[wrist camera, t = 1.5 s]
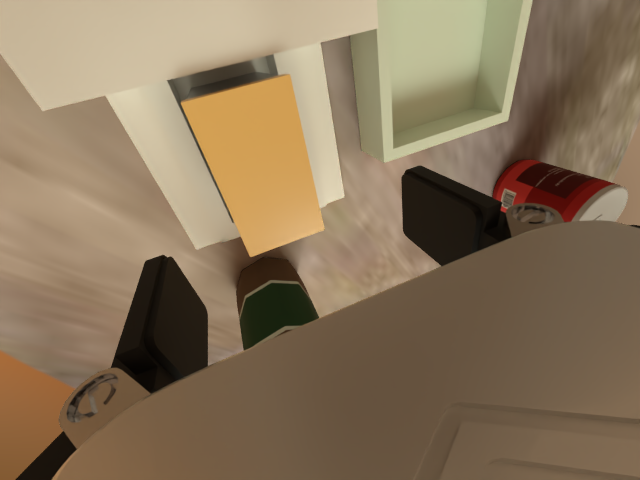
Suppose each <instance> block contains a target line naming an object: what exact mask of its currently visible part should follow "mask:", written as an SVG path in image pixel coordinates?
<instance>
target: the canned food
mask: <svg viewBox="0 0 640 480" xmlns="http://www.w3.org/2000/svg"><path fill="white" fill-rule="evenodd" d="M493 198H494V199H496V200H498V201H501V202H502V207H501V211H503V212H505V213H506V210H507V209H508V208H509V207H510V206H512V205H516V204H520V203H535V204H541V205H545V206H548V207H551V208H553V209H555V210H556V211H558V213H559V214H560V215H561V217H562V219H563V220H564V222H575V221H588V220H605V221H613V222H615V221H616V220H617V219H618V217H619V216H620V214H621V213H622V211H623V209H624V207H625V205H626V203H627V198H628V190H627V189H626V188H625V187H622V186H620V185H617V184H614V183H611V182H608V181H605V180H601V179H598V178H594V177H591V176H588V175H584V174H581V173H577V172H574V171H570V170H567V169H563V168H560V167H556V166H553V165H549V164H546V163H543V162H539V161H536V160H520V161H518V162H516V163H514V164H512V165H511V166H510V167H508V168H507V169H506V170H505V171H504V173H503V174H502V175H501V176H500V178H499V179H498V181H497V183H496V185H495V188H494V192H493Z"/></svg>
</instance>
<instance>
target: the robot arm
mask: <svg viewBox="0 0 640 480" xmlns="http://www.w3.org/2000/svg"><path fill="white" fill-rule="evenodd" d="M501 207H502V202H501V201H498V200H496V199H494V198H492V197H489V196H487V195H485V194H483V193H481V192H478V191H476V190H474V189H472V188H469V187H467V186H465V185H463V184H460V183H458V182H456V181H454V180H452V179H449V178H447V177H445V176H443V175H440V174H438V173H436V172H434V171H431V170H429V169H427V168H425V167H423V166H417V167H414V168H411V169H408V170H406V171H405V173H404V175H403V176H402V212H403V231H404V234H405V235H406V236H407V237H408V238H409V239H410V240H411V241H412V242H414V243H415V244H416V245H417V246H418V247H420V248H421V249H422V250H423V251H424V252H426V253H427V254H428V255H429V256H430V257H431V258H433V259H434V260H435V261H436V262H437V263H439V264H440V265H441V267H439V268H436V269H434V270H432V271H429V272H427V273H425V274H422V275H420V276H417V277H415V278H413V279H410V280H408V281H406V282H403V283H401V284H398V285H396V286H394V287H391V288H389V289H387V290H384V291H382V292H380V293H377V294H375V295H372V296H370V297H368V298H365V299H363V300H361V301H358V302H356V303H354V304H351V305H349V306H347V307H344V308H342V309H340V310H337V311H335V312H332V313H330V314H328V315H325V316H323V317H321V318H318V319H316V320H314V321H311V322H309V323H307V324H305V325H302V326H300V327H298V328H295V329H293V330H291V331H288V332H286V333H284V334H281V335H279V336H277V337H274V338H272V339H270V340H267V341H265V342H263V343H260V344H258V345H256V346H253V347H251V348H249V349H246V350H244V351H242V352H240V353H237V354H235V355H233V356H230V357H228V358H226V359H223V360H221V361H219V362H216V363H214V364H212V365H210V366H208V314H207V310H206V307H205V305H204V304H203V302H202V301H201V299H200V298H199V296H198V295H197V293H196V292H195V290H194V289H193V287H192V286H191V284H190V283H189V281H188V280H187V278H186V277H185V275H184V274H183V272H182V271H181V269H180V268H179V266H178V265H177V263H176V262H175V260H174V259H173V258H172V257H168V258H167V257H166V256H165V255H161V256H158V257H156V258H153V259H150V260H147V261H146V262H145V264H144V267H143V270H142V273H141V276H140V279H139V282H138V285H137V289H136V292H135V295H134V298H133V301H132V304H131V307H130V310H129V313H128V316H127V319H126V322H125V325H124V329H123V332H122V335H121V338H120V341H119V344H118V347H117V350H116V353H115V357H114V360H113V363H112V366H111V368H108V369H105V370H102V371H100V372H98V373H96V374H94V375H92V376H91V377H89V378H88V379H87V380H85V381H84V382H83V383H82V384H80V385H79V386H78V387H77V388H76V389H75V390H74V392H73V393H72V394H71V395H70V396H69V398H68V399H67V400H66V402H65V404H64V406H63V408H62V410H61V412H60V416H59V423H60V427H61V428H62V429H63V432H62V433H61V434H60V435H59V436H58V437H57V438H56V439H55V440H54V441H53V442H52V443H51V444H50V445H49V446H48V447H47V448H46V449H45V450H44V451H43V452H42V453H41V454H40V455H39V456H38V457H37V458H36V459H35V460H34V461H33V462H32V463H31V464H30V465H29V466H28V467H27V469H25V470H24V472H23V473H22V474H20V476H19V477H18V478H17V479H16V480H640V226H637V225H626V224H622V223H618V222H613V221H605V220H588V221H575V222H564V220H563V219H562V217H561V215H560V214H559V213H558V211H556V210H555V209H553V208H551V207H548V206H545V205H541V204H535V203H520V204H516V205H512V206H510V207H509V208H508V209H507V210H506V213H505V212H503V211H501Z"/></svg>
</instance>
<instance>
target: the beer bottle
mask: <svg viewBox="0 0 640 480" xmlns="http://www.w3.org/2000/svg"><path fill="white" fill-rule="evenodd" d="M236 295H237V306H238V313H239V320H240V327H241V334H242V341H243V348H244V350H246V349H249V348H251V347H253V346H256V345H258V344H260V343H263V342H265V341H267V340H270V339H272V338H274V337H277V336H279V335H281V334H284V333H286V332H288V331H291V330H293V329H295V328H298V327H300V326H302V325H305V324H307V323H309V322H311V321H314V320H316V319H318V318H319V316H318V314H317V312H316V310H315V308H314V305H313V303H312V301H311V299H310V297H309V295H308V292H307V290H306V288H305V286H304V284H303V282H302V280H301V278H300V277H299V275H298V274H297V272H296V271H295V269H294V268H293V267H292V265H291V264H290V263H289V261H288V260H285V259H274V258H262V259H260V260H258V261H257V262H255V263H253V264H252V265H250V266H248V267H247V268H245V269H244V270H242V272H241V275H240V279H239V283H238V287H237V291H236Z"/></svg>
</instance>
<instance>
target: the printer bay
mask: <svg viewBox="0 0 640 480" xmlns="http://www.w3.org/2000/svg"><path fill="white" fill-rule="evenodd" d="M377 28H378V11H377V0H0V54H1V55H2V57H3V58H4V59H5V61H6V62H7V63H8V65H9V66H10V67H11V69H12V70H13V72H14V73H15V74H16V76H17V77H18V78H19V80H20V81H21V82H22V84H23V85H24V86H25V88H26V89H27V91H28V92H29V93H30V95H31V96H32V97H33V99H34V100H35V101H36V103H37V104H38V105H39V107H40V108H41V109H42V111H45V110H49V109H53V108H57V107H61V106H65V105H69V104H73V103H77V102H81V101H85V100H89V99H93V98H97V97H102V96H106V98H107V99H108V101H109V103H110V105H111V106H112V108H113V110H114V111H115V113H116V115H117V116H118V118H119V120H120V121H121V123H122V125H123V126H124V128H125V130H126V132H127V133H128V135H129V137H130V138H131V140H132V142H133V143H134V145H135V147H136V148H137V150H138V152H139V153H140V155H141V157H142V159H143V160H144V162H145V164H146V165H147V167H148V169H149V170H150V172H151V174H152V175H153V177H154V179H155V180H156V182H157V184H158V185H159V187H160V189H161V191H162V192H163V194H164V196H165V197H166V199H167V201H168V202H169V204H170V206H171V207H172V209H173V211H174V212H175V214H176V216H177V218H178V219H179V221H180V223H181V224H182V226H183V228H184V229H185V231H186V233H187V234H188V236H189V238H190V239H191V241H192V243H193V245H194V246H195V248H196V250H197V249H200V248H203V247H206V246H209V245H212V244H214V243H217V242H220V241H222V243H224V242H227V241H229V240H232V239H235V238H238V237H241V236H240V234H239V231H238V229H237V227H236V225H235V222H234V220H233V218H232V216H231V214H230V211H229V209H228V207H227V205H226V203H225V200H224V198H223V196H222V194H221V192H220V189H219V187H218V185H217V183H216V180H215V178H214V176H213V174H212V172H211V169H210V167H209V165H208V163H207V161H206V158H205V156H204V154H203V152H202V150H201V147H200V145H199V143H198V141H197V138H196V136H195V134H194V132H193V130H192V127H191V125H190V123H189V121H188V119H187V116H186V114H185V112H184V110H183V108H182V105H181V101H182V100H186V99H187V96H188V94H189V92H190V90H191V88H194V87H198V86H202V85H206V84H210V83H214V82H218V81H221V80H225V79H229V78H233V77H237V76H241V75H245V74H249V73H253V72H262V73H268V74H273V75H281V74H290V76H291V80H292V85H293V90H294V94H295V99H296V103H297V108H298V112H299V117H300V121H301V126H302V130H303V135H304V139H305V144H306V148H307V153H308V157H309V162H310V166H311V171H312V175H313V180H314V184H315V189H316V193H317V198H318V202H319V207H320V208H322V207H325V206H326V204H327V203H330V202H332V201H335V200H338V199H341V198H344V191H343V184H342V178H341V171H340V165H339V158H338V152H337V146H336V139H335V133H334V126H333V120H332V114H331V107H330V101H329V94H328V88H327V81H326V75H325V69H324V62H323V56H322V49H321V42H325V41H329V40H333V39H337V38H341V37H345V36H349V35H353V34H357V33H361V32H365V31H369V30H373V29H377Z"/></svg>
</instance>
